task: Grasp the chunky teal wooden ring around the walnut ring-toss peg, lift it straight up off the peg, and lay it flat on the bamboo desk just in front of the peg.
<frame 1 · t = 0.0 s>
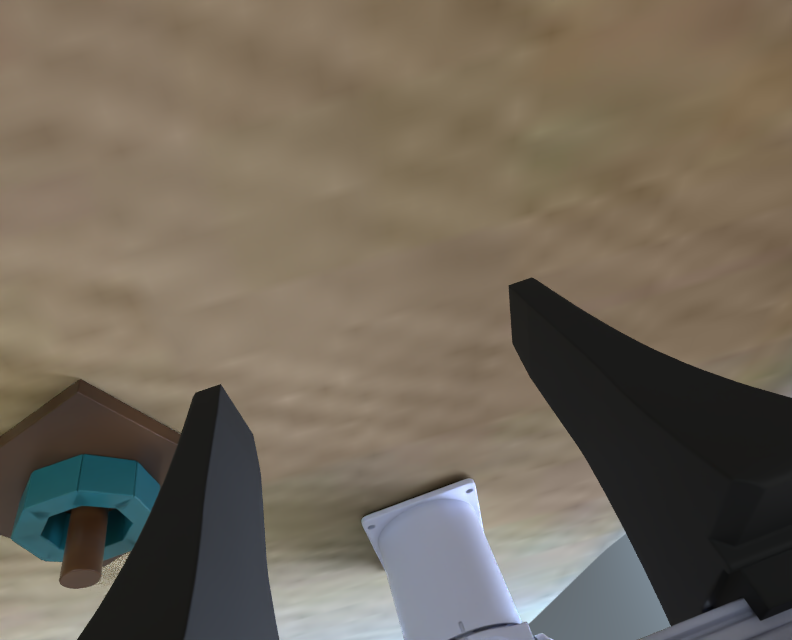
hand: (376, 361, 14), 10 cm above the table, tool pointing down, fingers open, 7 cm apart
ring: (92, 492, 27), point 1 cm above the table, touching ring toss
ring toss: (94, 479, 28), on the table
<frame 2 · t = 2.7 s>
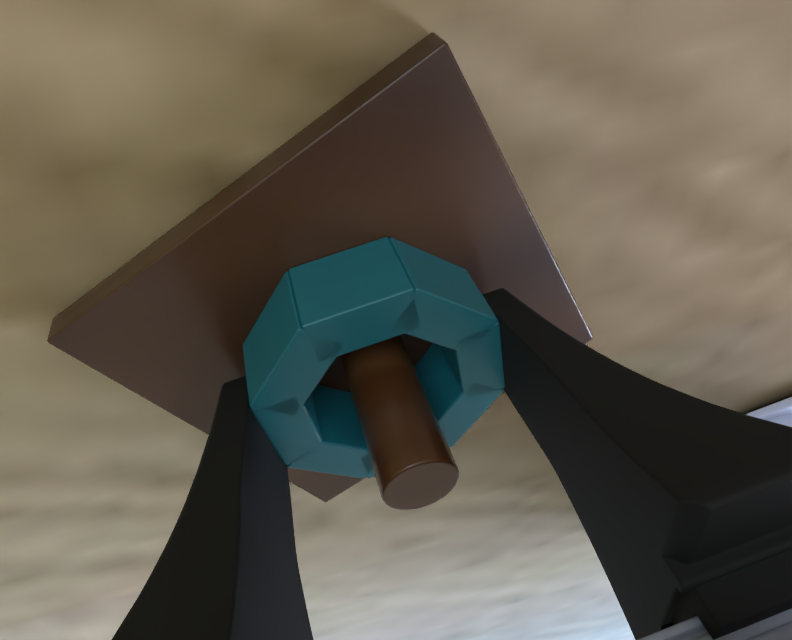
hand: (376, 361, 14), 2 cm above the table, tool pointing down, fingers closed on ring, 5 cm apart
ring: (367, 340, 14), point 1 cm above the table, touching gripper, ring toss
ring toss: (361, 320, 15), on the table
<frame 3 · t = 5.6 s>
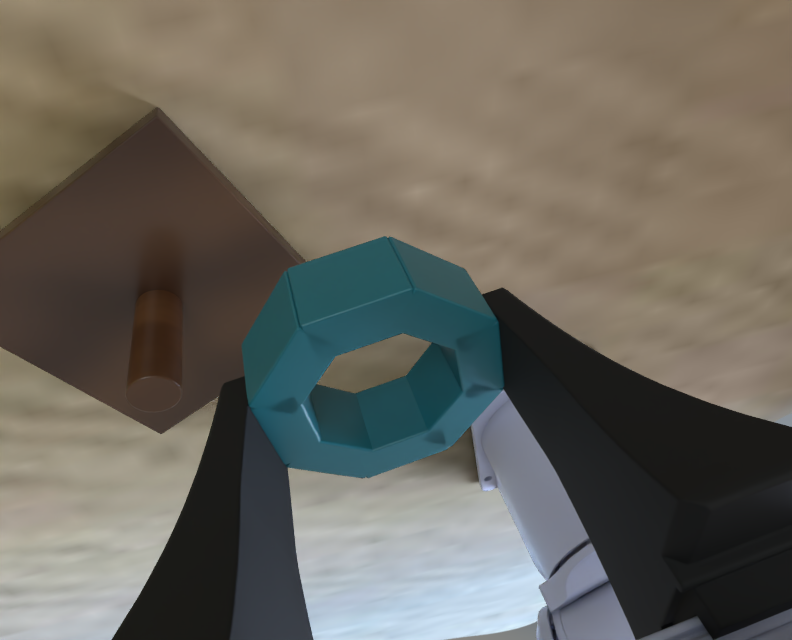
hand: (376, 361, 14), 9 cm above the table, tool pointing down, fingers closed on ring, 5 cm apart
ring: (366, 340, 14), point 8 cm above the table, touching gripper
ring toss: (160, 294, 21), on the table
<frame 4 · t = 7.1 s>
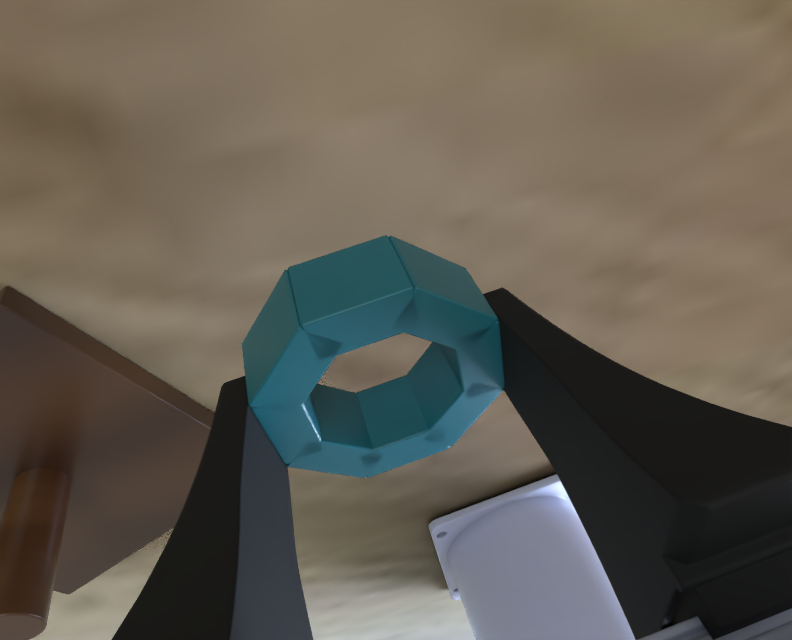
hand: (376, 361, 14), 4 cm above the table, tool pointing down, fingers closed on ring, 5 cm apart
ring: (366, 339, 14), point 3 cm above the table, touching gripper
ring toss: (47, 463, 18), on the table
when the fingers open (1 cm above the table, at t = 8.5 s): ring stays where it is, on the table.
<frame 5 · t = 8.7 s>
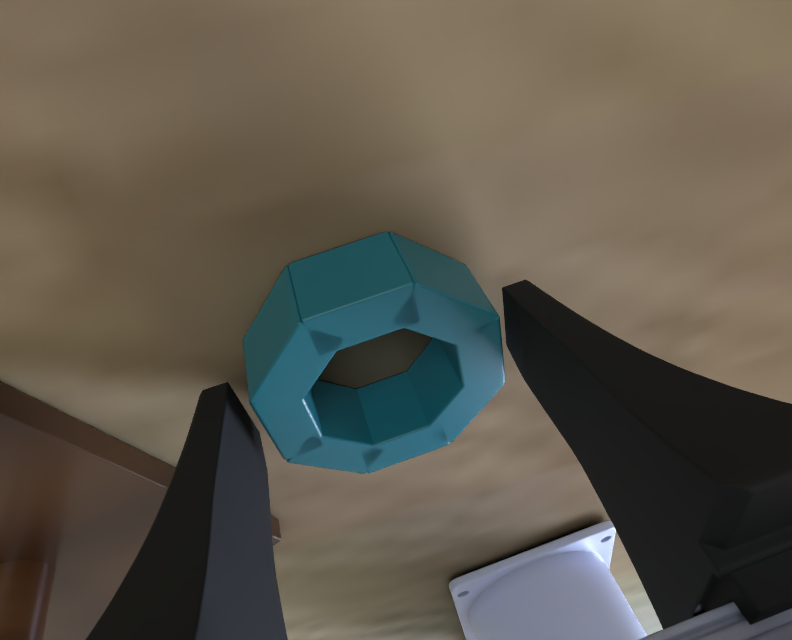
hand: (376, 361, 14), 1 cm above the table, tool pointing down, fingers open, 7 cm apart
ring: (366, 335, 14), on the table
ring toss: (26, 548, 16), on the table
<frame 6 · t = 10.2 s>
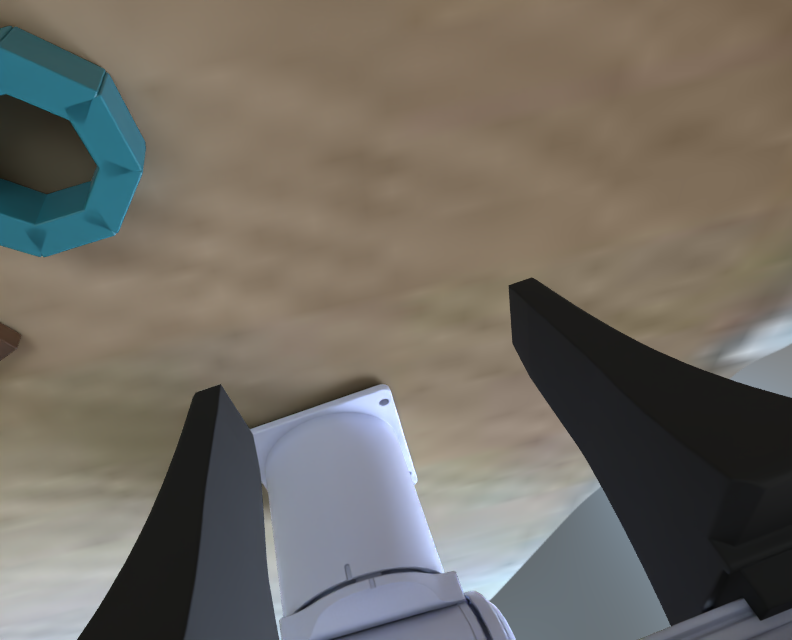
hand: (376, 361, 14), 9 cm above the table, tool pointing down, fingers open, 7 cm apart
ring: (35, 136, 17), on the table
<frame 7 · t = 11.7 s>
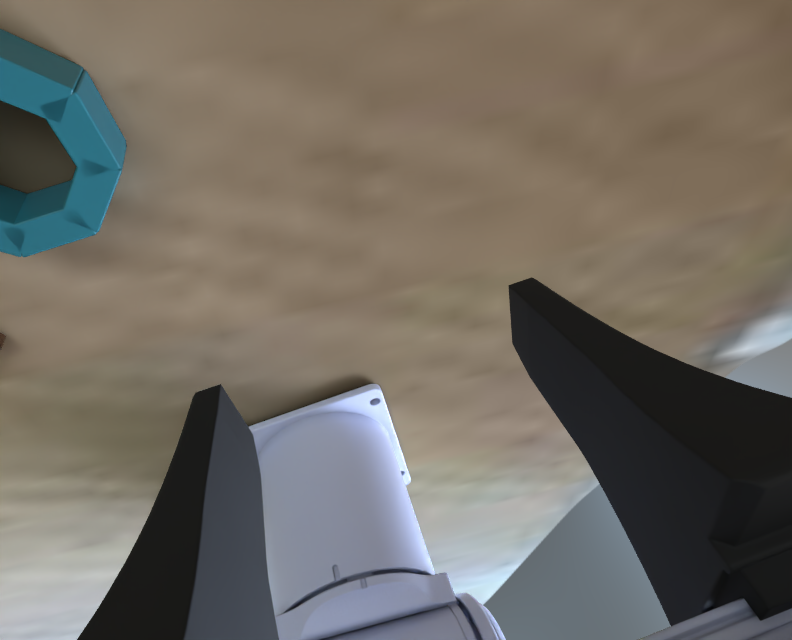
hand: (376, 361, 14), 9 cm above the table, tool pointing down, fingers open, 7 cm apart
ring: (14, 135, 17), on the table
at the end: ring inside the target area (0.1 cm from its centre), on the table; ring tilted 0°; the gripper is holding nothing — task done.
